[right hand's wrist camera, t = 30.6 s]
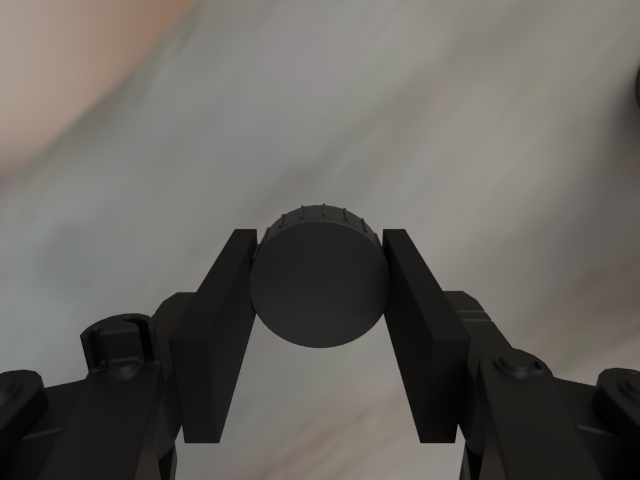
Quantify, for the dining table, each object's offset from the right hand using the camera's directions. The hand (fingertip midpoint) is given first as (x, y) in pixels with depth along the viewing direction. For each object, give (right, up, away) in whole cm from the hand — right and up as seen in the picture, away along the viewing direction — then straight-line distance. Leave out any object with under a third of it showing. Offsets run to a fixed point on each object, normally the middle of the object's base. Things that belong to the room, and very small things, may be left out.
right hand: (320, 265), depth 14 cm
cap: (0, -1, -1) cm, 2 cm away
